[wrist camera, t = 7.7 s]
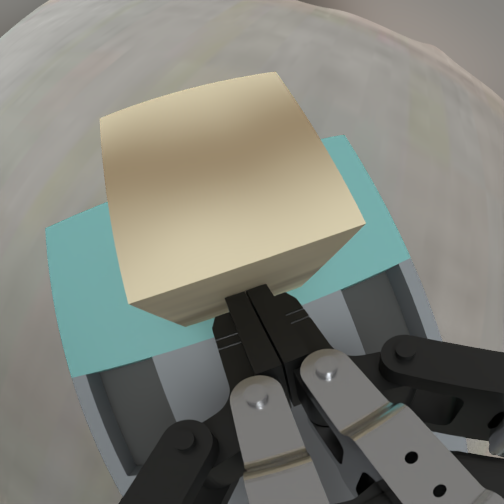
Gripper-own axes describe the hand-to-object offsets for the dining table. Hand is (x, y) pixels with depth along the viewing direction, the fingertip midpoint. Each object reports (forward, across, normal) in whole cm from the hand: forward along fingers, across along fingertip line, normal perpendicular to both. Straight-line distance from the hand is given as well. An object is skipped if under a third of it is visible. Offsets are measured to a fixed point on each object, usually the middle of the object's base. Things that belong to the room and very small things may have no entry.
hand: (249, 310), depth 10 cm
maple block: (+5, 0, 0) cm, 5 cm away
